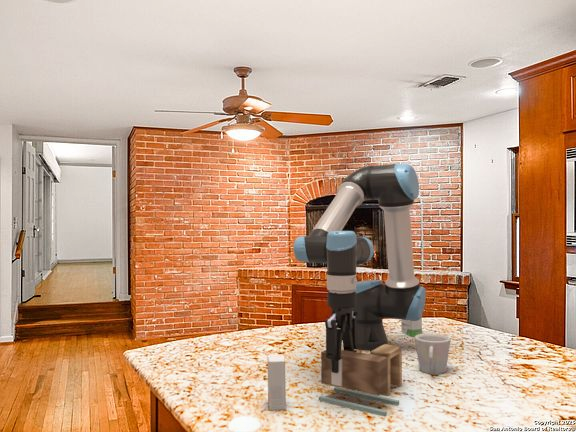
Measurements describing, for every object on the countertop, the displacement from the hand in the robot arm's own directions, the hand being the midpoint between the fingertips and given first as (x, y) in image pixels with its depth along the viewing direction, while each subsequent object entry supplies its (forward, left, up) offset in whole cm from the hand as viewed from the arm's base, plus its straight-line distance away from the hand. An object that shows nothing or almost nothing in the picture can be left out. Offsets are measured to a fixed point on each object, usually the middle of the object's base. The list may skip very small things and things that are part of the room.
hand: (342, 381), depth 126 cm
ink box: (-10, +75, -5) cm, 76 cm away
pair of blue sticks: (+4, 0, -4) cm, 6 cm away
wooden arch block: (+6, +13, -4) cm, 15 cm away
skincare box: (-12, -13, -5) cm, 18 cm away
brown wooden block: (+3, 0, -1) cm, 3 cm away
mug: (+12, +33, -5) cm, 36 cm away
